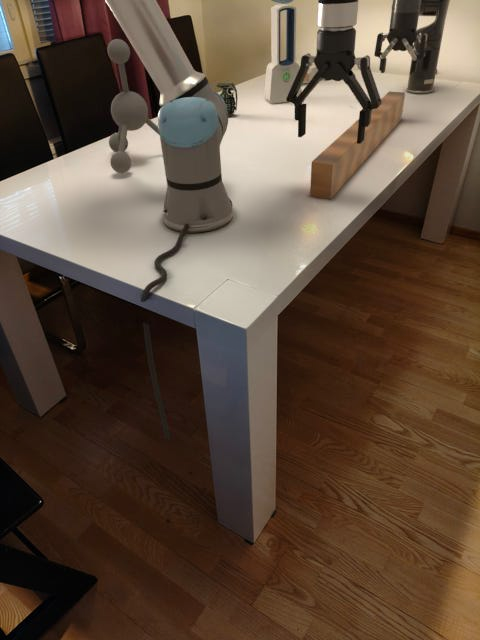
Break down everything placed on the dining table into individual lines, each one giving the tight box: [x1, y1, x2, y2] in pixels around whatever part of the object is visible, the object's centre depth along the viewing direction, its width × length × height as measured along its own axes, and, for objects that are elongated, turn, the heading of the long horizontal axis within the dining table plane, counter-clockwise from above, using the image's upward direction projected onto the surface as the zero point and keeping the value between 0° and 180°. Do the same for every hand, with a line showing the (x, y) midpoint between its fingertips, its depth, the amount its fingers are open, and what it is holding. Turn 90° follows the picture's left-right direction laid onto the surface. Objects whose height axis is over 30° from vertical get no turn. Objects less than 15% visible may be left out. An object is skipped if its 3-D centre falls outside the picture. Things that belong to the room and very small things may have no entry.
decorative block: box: [295, 58, 324, 84], centre depth 207 cm, size 26×6×20 cm
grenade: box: [215, 82, 238, 117], centre depth 166 cm, size 7×6×10 cm
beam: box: [309, 91, 406, 200], centre depth 133 cm, size 66×5×8 cm, turn 152°
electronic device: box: [263, 3, 302, 104], centre depth 173 cm, size 12×8×30 cm, turn 105°
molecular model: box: [107, 38, 159, 174], centre depth 130 cm, size 24×22×30 cm
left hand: (330, 138), depth 108 cm, fingers open, 13 cm apart
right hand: (396, 73), depth 146 cm, fingers open, 8 cm apart
